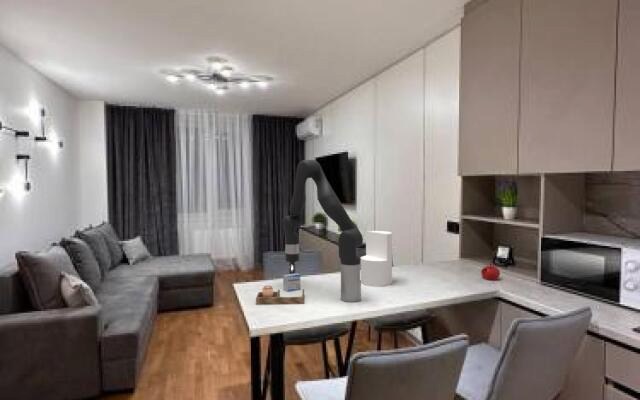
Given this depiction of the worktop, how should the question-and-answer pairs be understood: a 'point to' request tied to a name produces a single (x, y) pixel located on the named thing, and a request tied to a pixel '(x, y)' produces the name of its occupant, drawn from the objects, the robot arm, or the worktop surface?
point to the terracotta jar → (267, 291)
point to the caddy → (278, 299)
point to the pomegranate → (490, 272)
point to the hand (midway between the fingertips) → (292, 283)
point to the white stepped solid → (377, 259)
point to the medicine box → (291, 282)
